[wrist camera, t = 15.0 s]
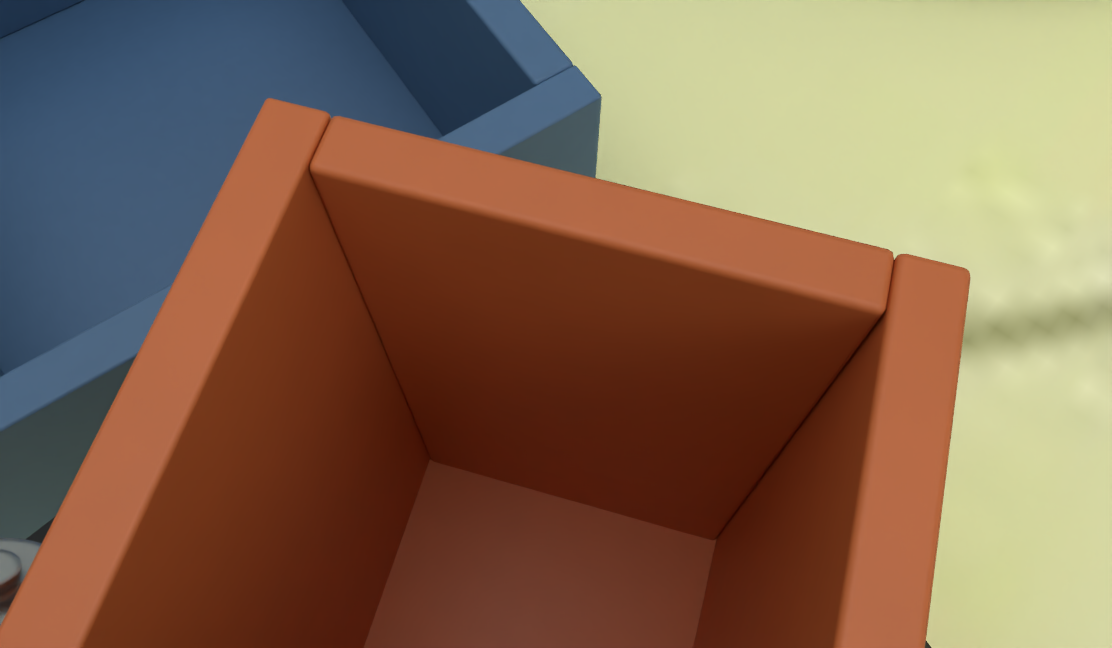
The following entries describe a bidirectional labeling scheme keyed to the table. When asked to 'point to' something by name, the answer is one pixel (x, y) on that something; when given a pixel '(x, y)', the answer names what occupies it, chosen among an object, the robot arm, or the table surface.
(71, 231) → the tub
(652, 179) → the table surface
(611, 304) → the crate
